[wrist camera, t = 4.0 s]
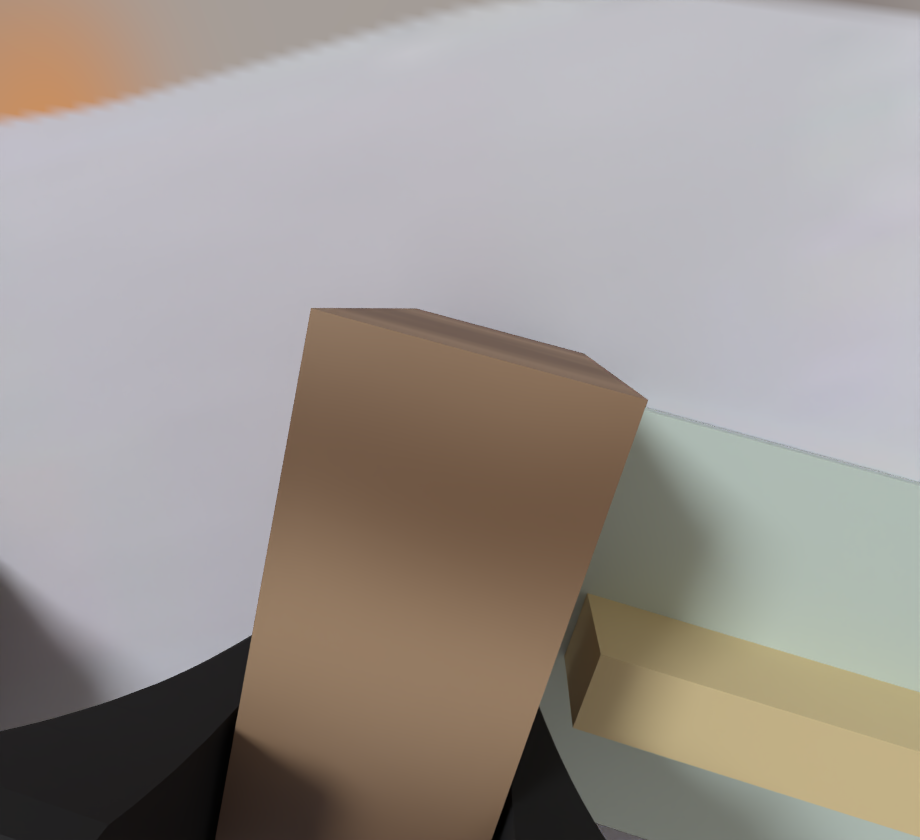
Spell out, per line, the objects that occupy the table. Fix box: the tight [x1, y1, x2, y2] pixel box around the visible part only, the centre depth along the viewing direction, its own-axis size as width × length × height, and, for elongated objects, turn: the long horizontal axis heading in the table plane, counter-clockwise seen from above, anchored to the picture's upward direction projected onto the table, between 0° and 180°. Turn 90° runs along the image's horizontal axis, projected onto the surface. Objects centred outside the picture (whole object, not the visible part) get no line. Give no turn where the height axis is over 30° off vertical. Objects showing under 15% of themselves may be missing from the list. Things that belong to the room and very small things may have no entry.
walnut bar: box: [215, 308, 648, 840], centre depth 11 cm, size 16×4×6 cm, turn 166°
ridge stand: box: [539, 407, 920, 840], centre depth 12 cm, size 12×12×3 cm
